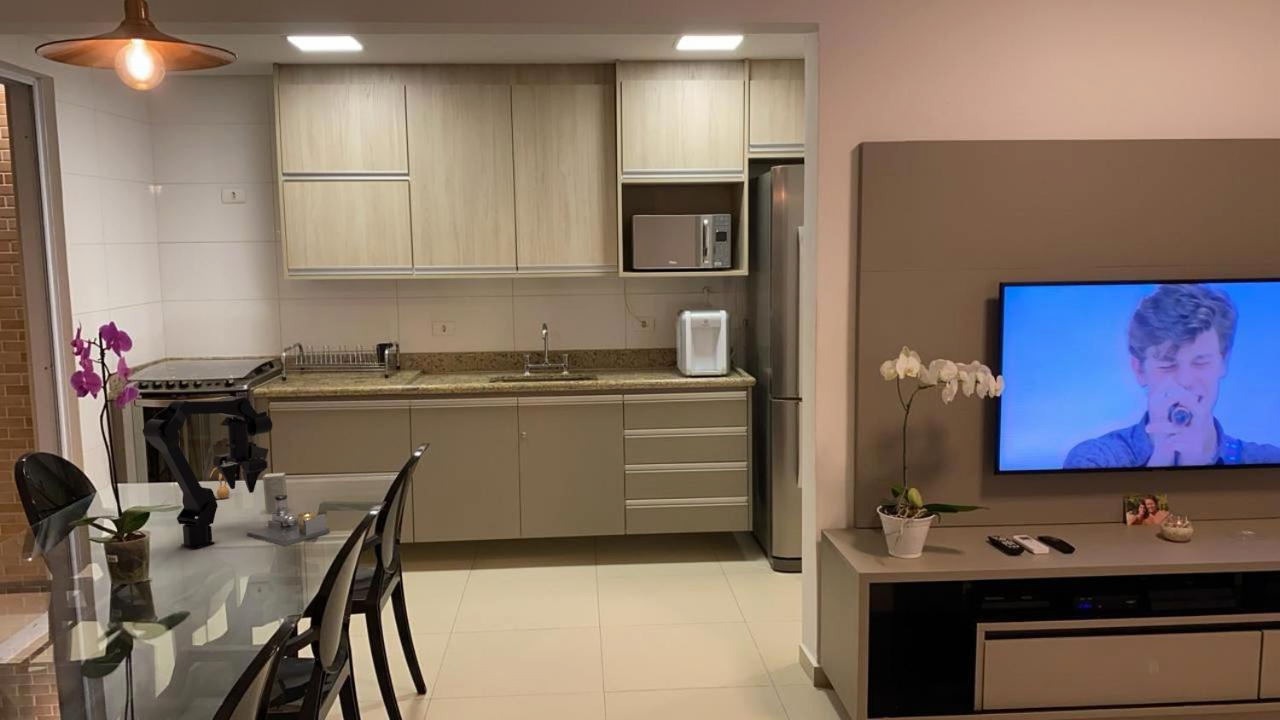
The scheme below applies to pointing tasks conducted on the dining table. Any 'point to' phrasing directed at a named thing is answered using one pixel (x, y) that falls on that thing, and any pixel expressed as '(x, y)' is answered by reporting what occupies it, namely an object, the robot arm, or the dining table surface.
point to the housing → (304, 516)
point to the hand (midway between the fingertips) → (242, 490)
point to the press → (291, 531)
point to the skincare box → (273, 490)
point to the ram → (283, 512)
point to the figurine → (222, 491)
